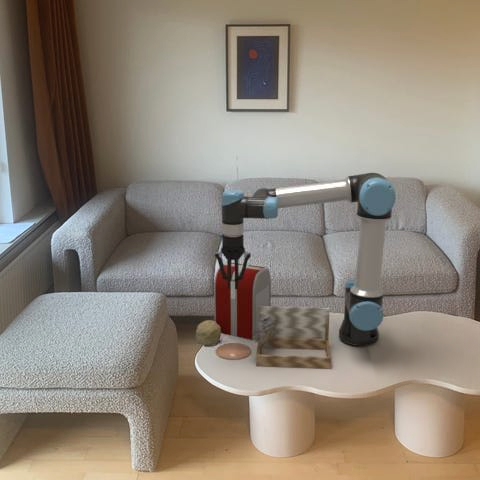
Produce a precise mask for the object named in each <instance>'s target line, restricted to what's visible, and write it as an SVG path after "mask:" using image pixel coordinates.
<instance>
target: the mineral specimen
mask: <svg viewBox="0 0 480 480" xmlns="http://www.w3.org/2000/svg"><path fill="white" fill-rule="evenodd" d="M276 324H277V319H274V318H271V317H270V316H269V317H267V318H265V319H263V321H262V324H261V326H260V327H259V328H257V329H256V330H254V332H253V335H254V336H253V337H257V339H256V340H254V343H255V344H256V343H258V342H260V345H261V348H260V349H261V350H262V349H263V348H262V347H264V346H265V344H266V342H267V341H268V339H269V337H270V335H271V334H272V332H273V330H274V329H275V326H276ZM253 337H252V338H253Z"/></svg>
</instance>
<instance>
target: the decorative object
mask: <svg viewBox="0 0 480 480" xmlns="http://www.w3.org/2000/svg"><path fill="white" fill-rule="evenodd" d="M221 335H222V333H221V328H220V326H219V325H218V324H217V323H216V322H215V321H214V320H210V319H209V320H204V321H202V322H200V323H199V324H198V325H197V328H196V331H195V341H196V342H197V344H199V345H202V346H215V345H216V344H218V343H219V342H220V340H221Z"/></svg>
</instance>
